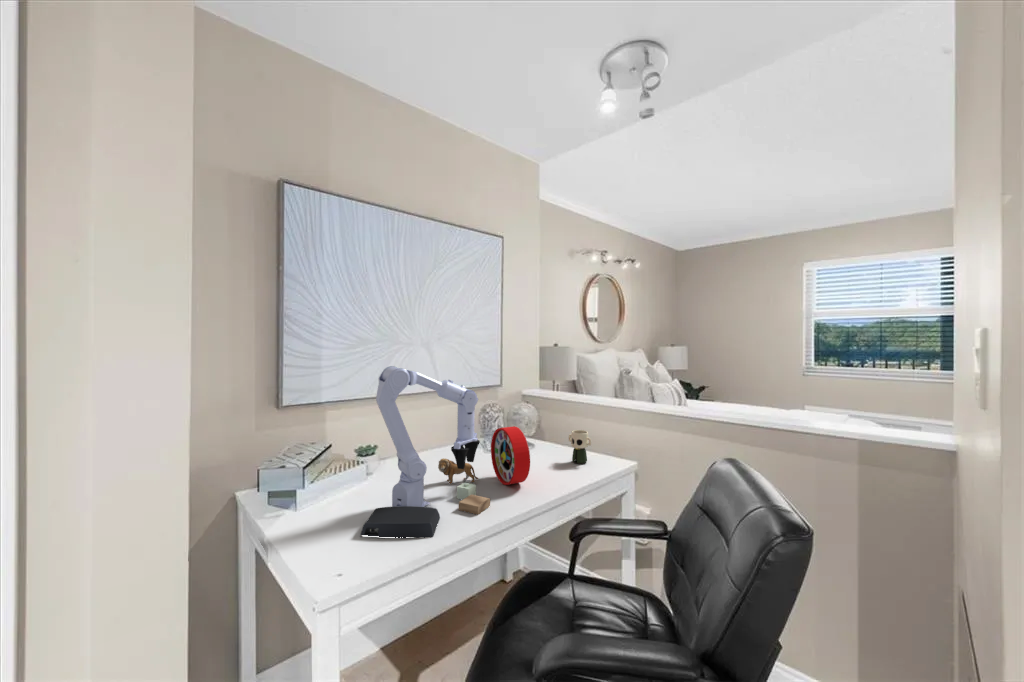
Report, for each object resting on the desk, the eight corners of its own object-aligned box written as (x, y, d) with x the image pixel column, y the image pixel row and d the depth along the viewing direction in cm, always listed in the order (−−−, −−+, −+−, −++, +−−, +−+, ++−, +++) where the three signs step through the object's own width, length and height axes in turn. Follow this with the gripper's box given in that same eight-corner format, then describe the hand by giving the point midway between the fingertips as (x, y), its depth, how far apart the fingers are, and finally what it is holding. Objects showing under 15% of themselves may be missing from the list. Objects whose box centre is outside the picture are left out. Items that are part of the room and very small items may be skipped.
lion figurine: (439, 486, 146) (439, 461, 146) (437, 481, 151) (437, 456, 151) (479, 482, 150) (479, 457, 150) (476, 477, 155) (476, 453, 155)
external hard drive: (374, 518, 121) (374, 504, 121) (440, 518, 122) (440, 504, 121) (358, 540, 108) (358, 524, 108) (432, 540, 108) (432, 525, 108)
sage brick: (468, 501, 133) (468, 487, 133) (456, 498, 135) (456, 485, 135) (475, 496, 137) (475, 483, 137) (464, 494, 139) (464, 480, 139)
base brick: (478, 515, 123) (478, 506, 123) (458, 510, 126) (458, 502, 126) (490, 506, 129) (490, 498, 129) (471, 502, 132) (471, 494, 132)
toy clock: (490, 475, 158) (491, 423, 157) (504, 472, 160) (504, 421, 160) (515, 493, 140) (515, 434, 140) (530, 490, 143) (530, 432, 142)
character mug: (564, 461, 175) (564, 431, 175) (573, 457, 180) (573, 428, 180) (586, 467, 168) (586, 435, 168) (595, 463, 173) (595, 432, 173)
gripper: (468, 430, 130) (467, 473, 130) (485, 421, 144) (484, 460, 144) (448, 428, 132) (447, 470, 132) (466, 419, 146) (466, 458, 146)
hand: (465, 465), depth 138 cm, fingers open, 7 cm apart
